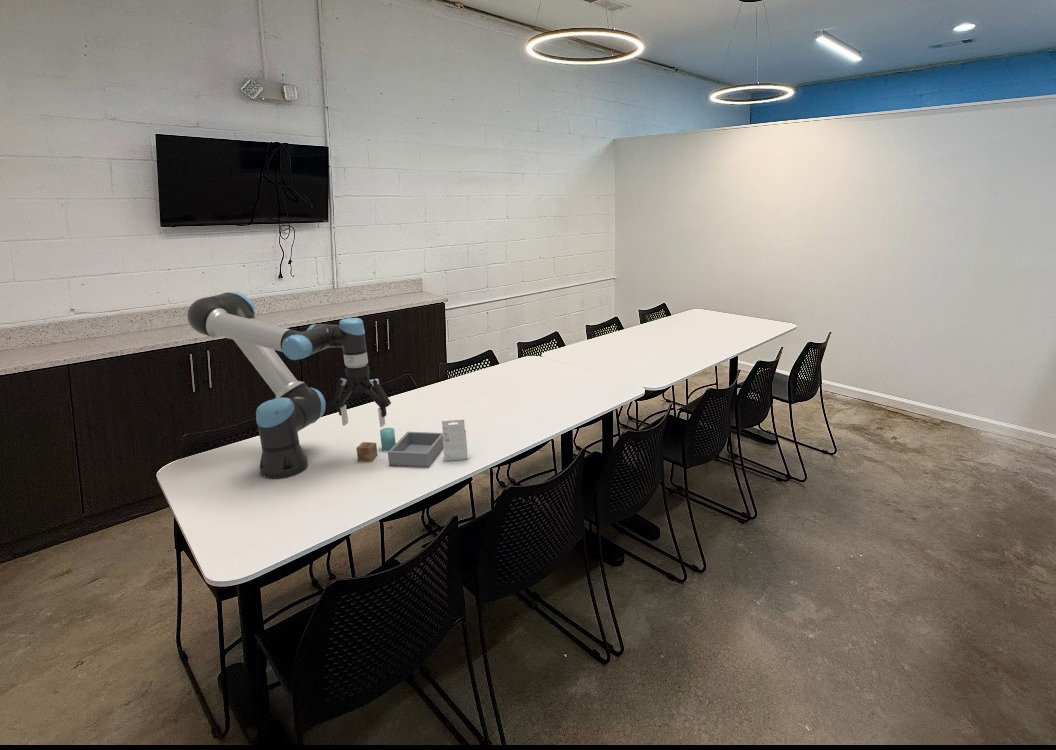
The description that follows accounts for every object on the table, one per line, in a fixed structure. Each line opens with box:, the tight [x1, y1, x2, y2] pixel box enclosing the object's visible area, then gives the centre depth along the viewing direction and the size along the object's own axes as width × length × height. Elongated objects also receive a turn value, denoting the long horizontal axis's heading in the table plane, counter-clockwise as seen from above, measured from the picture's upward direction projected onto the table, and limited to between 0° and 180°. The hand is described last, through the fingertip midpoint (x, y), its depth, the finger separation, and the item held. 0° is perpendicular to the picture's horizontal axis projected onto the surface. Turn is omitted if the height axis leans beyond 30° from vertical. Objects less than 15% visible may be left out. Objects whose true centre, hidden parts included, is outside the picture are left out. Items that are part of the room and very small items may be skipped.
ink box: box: [441, 419, 469, 462], centre depth 199 cm, size 4×8×15 cm, turn 96°
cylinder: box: [379, 427, 397, 452], centre depth 211 cm, size 5×5×7 cm
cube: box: [355, 441, 378, 463], centre depth 203 cm, size 5×5×5 cm
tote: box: [387, 431, 444, 468], centre depth 204 cm, size 14×18×5 cm
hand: (364, 424), depth 200 cm, fingers open, 13 cm apart
